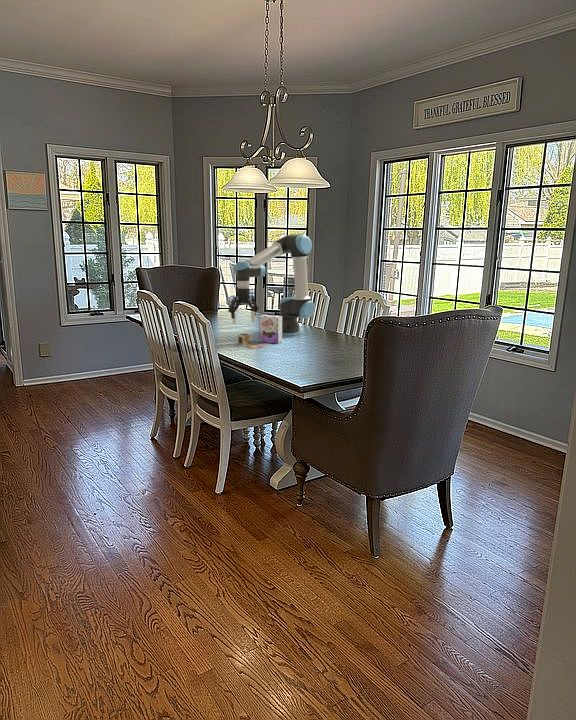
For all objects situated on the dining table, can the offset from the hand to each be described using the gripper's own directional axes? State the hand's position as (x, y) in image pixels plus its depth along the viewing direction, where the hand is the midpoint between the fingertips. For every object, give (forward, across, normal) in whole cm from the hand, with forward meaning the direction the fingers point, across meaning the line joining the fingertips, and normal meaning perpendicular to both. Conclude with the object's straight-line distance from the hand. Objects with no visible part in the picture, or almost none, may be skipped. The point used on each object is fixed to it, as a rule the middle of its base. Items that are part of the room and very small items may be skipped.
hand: (243, 322), depth 321 cm
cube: (+13, 0, 0) cm, 13 cm away
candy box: (+13, -16, +5) cm, 22 cm away
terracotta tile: (+13, 0, +10) cm, 17 cm away
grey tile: (+13, -8, +10) cm, 19 cm away
